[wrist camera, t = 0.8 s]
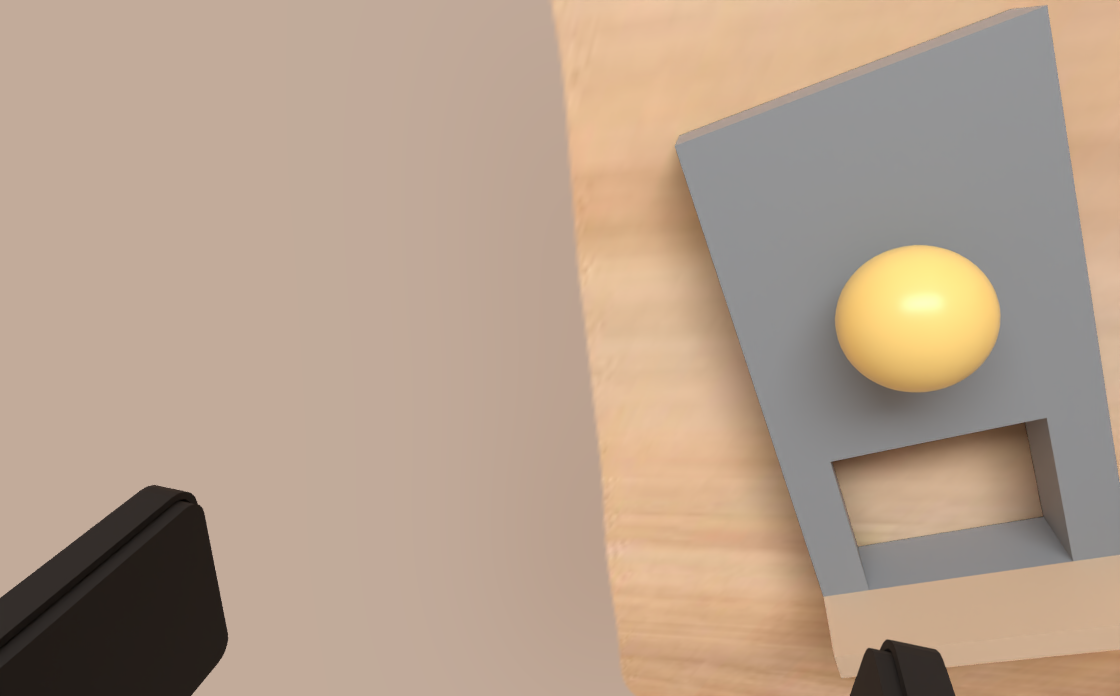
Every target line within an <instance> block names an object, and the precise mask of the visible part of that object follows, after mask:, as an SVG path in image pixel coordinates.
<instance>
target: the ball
mask: <svg viewBox="0 0 1120 696" xmlns="http://www.w3.org/2000/svg"><path fill="white" fill-rule="evenodd" d="M1000 315H1001V314H1000V305H999V302H998V298H997V295H996V292H995V290H994V288H993V286H992V284H991V282H990V281H989V280H988V278H987V277H986V275H985V274H984V273H983V272H982V271H981V270H980V269H979V268H978V267H977V266H976V265H975V264H973V263H972V262H971V261H970V260H968V259H967V258H965V257H963V256H961V255H959V254H958V253H955V252H953V251H950V250H948V249H944V248H940V247H935V246H927V245H911V246H903V247H899V248H895V249H891V250H889V251H886V252H883V253H881V254H879V255H877V256H875V257H873V258H872V259H870V260H869V261H867V262H866V263H864V264H863V265H862V266H861V267H860V268H859V269H858V270H857V271H856V272H855V273H854V274H853V275H852V276H851V277H850V279H849V280H848V281H847V282H846V284H845V286H844V288H843V289H842V291H841V294H840V296H839V299H838V303H837V307H836V313H835V328H836V333H837V338H838V341H839V344H840V347H841V349H842V350H843V352H844V354H845V356H846V357H847V359H848V360H849V361H850V363H851V364H852V365H853V366H854V367H855V368H856V369H857V370H858V371H859V372H860V373H861V374H862V375H864V376H865V377H867V378H868V379H870V380H871V381H873V382H875V383H877V384H879V385H881V386H884V387H886V388H889V389H893V390H897V391H903V392H930V391H936V390H940V389H943V388H946V387H949V386H952V385H954V384H956V383H958V382H960V381H962V380H964V379H965V378H967V377H968V376H969V375H971V374H972V373H973V372H974V371H976V370H977V369H978V368H979V367H980V366H981V365H982V364H983V363H984V361H985V360H986V358H987V357H988V356H989V354H990V353H991V351H992V349H993V347H994V345H995V343H996V340H997V337H998V334H999V329H1000Z"/></svg>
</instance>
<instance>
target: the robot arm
mask: <svg viewBox="0 0 1120 696" xmlns="http://www.w3.org/2000/svg"><path fill="white" fill-rule="evenodd" d="M227 642H228V632H227V627H226V622H225V618H224V612H223V607H222V602H221V597H220V591H219V587H218V581H217V576H216V571H215V566H214V561H213V556H212V551H211V546H210V540H209V535H208V530H207V525H206V520H205V515H204V511H203V509H202V507H201V506H200V505H198V504H197V501H196V498H195V497H194V495H192V494H191V493H189V492H184V491H180V490H176V489H171V488H166V487H161V486H156V485H152V486H148V487H146V488H144V489H142V490H141V491H139V492H138V493H137V494H135V495H134V496H133V497H132V498H130V499H129V500H128V501H126V502H125V503H124V504H122V505H121V506H120V507H118V508H117V509H116V510H115V511H113V512H112V513H111V514H109V515H108V516H107V517H105V518H104V519H103V520H101V521H100V522H99V523H98V524H96V525H95V526H94V527H92V528H91V529H90V530H88V531H87V532H86V533H85V534H83V535H82V536H81V537H79V538H78V539H77V540H75V541H74V542H73V543H71V544H70V545H69V546H68V547H66V548H65V549H64V550H62V551H61V552H60V553H58V554H57V555H56V556H55V557H53V558H52V559H51V560H49V561H48V562H47V563H45V564H44V565H43V566H41V567H40V568H39V569H37V570H36V571H35V572H34V573H32V574H31V575H30V576H28V577H27V578H26V579H25V580H23V581H22V582H21V583H19V584H18V585H17V586H15V587H14V588H13V589H11V590H10V591H9V592H7V593H6V594H5V595H4V596H2V597H1V598H0V696H191V695H192V694H193V693H194V691H195V690H196V689H197V688H198V687H199V685H200V684H201V683H202V682H203V681H204V679H205V678H206V677H207V676H208V675H209V673H210V672H211V671H212V670H213V668H214V667H215V666H216V665H217V663H218V662H219V661H220V659H221V658H222V656H223V654H224V652H225V649H226V646H227ZM850 696H955V693H954V690H953V687H952V684H951V681H950V678H949V675H948V673H947V670H946V667H945V664H944V661H943V658H942V656H941V654H940V653H939V652H938V651H937V650H936V649H932V648H927V647H923V646H918V645H913V644H908V643H904V642H899V641H894V640H889V639H886V640H885V641H884V642H883V644H882V646H881V648H880V650H878V649H873V648H868V649H867V650H866V651H865V653H864V656H863V659H862V662H861V665H860V668H859V670H858V673H857V676H856V679H855V682H854V685H853V688H852V691H851V694H850Z"/></svg>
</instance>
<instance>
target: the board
mask: <svg viewBox="0 0 1120 696" xmlns="http://www.w3.org/2000/svg"><path fill="white" fill-rule="evenodd" d="M675 148H676V151H677V154H678V157H679V160H680V163H681V166H682V169H683V172H684V176H685V179H686V182H687V185H688V188H689V191H690V194H691V197H692V200H693V203H694V206H695V209H696V212H697V215H698V218H699V221H700V224H701V227H702V230H703V233H704V236H705V239H706V242H707V245H708V248H709V251H710V254H711V257H712V260H713V263H714V266H715V269H716V272H717V276H718V279H719V282H720V285H721V288H722V291H723V294H724V297H725V300H726V303H727V306H728V309H729V312H730V315H731V318H732V321H733V324H734V327H735V330H736V333H737V336H738V339H739V342H740V345H741V348H742V351H743V354H744V357H745V360H746V363H747V366H748V369H749V372H750V376H751V379H752V382H753V385H754V388H755V391H756V394H757V397H758V400H759V403H760V406H761V409H762V412H763V415H764V418H765V421H766V424H767V427H768V430H769V433H770V436H771V439H772V442H773V445H774V448H775V451H776V454H777V457H778V460H779V463H780V466H781V469H782V472H783V476H784V479H785V482H786V485H787V488H788V491H789V494H790V497H791V500H792V503H793V506H794V509H795V512H796V515H797V518H798V521H799V524H800V527H801V530H802V533H803V536H804V539H805V542H806V545H807V548H808V551H809V554H810V557H811V560H812V563H813V566H814V569H815V572H816V576H817V579H818V582H819V585H820V588H821V591H822V594H823V597H824V602H825V608H826V614H827V619H828V625H829V631H830V636H831V642H832V648H833V653H834V658H835V661H836V664H837V667H838V670H839V673H840V676H841V678H849V677H856V676H857V673H858V670H859V668H860V665H861V662H862V659H863V656H864V653H865V651H866V650H867V649H868V648H873V649H878V650H880V648H881V646H882V644H883V642H884V641H885V640H886V639H889V640H894V641H899V642H904V643H908V644H913V645H918V646H923V647H927V648H932V649H936V650H937V651H938V652H939V653H940V654H941V656H942V658H943V661H944V664H945V667H956V666H966V665H975V664H985V663H995V662H1005V661H1014V660H1024V659H1034V658H1043V657H1053V656H1063V655H1073V654H1082V653H1092V652H1102V651H1112V650H1120V483H1119V476H1118V469H1117V463H1116V456H1115V450H1114V443H1113V436H1112V430H1111V423H1110V417H1109V410H1108V403H1107V397H1106V390H1105V384H1104V377H1103V370H1102V364H1101V357H1100V351H1099V344H1098V337H1097V331H1096V324H1095V318H1094V311H1093V304H1092V298H1091V291H1090V285H1089V278H1088V271H1087V265H1086V258H1085V252H1084V245H1083V238H1082V232H1081V225H1080V218H1079V212H1078V205H1077V199H1076V192H1075V185H1074V179H1073V172H1072V166H1071V159H1070V152H1069V146H1068V139H1067V133H1066V126H1065V119H1064V113H1063V106H1062V100H1061V93H1060V86H1059V80H1058V73H1057V67H1056V60H1055V53H1054V47H1053V40H1052V34H1051V27H1050V20H1049V14H1048V7H1047V5H1046V6H1036V7H1026V8H1016V9H1010V10H1007V11H1005V12H1002V13H1000V14H997V15H994V16H992V17H989V18H987V19H984V20H981V21H979V22H976V23H973V24H971V25H968V26H966V27H963V28H960V29H958V30H955V31H952V32H950V33H947V34H945V35H942V36H939V37H937V38H934V39H931V40H929V41H926V42H924V43H921V44H918V45H916V46H913V47H910V48H908V49H905V50H903V51H900V52H897V53H895V54H892V55H890V56H887V57H884V58H882V59H879V60H876V61H874V62H871V63H869V64H866V65H863V66H861V67H858V68H855V69H853V70H850V71H848V72H845V73H842V74H840V75H837V76H834V77H832V78H829V79H827V80H824V81H821V82H819V83H816V84H813V85H811V86H808V87H806V88H803V89H800V90H798V91H795V92H793V93H790V94H787V95H785V96H782V97H779V98H777V99H774V100H772V101H769V102H766V103H764V104H761V105H758V106H756V107H753V108H751V109H748V110H745V111H743V112H740V113H737V114H735V115H732V116H730V117H727V118H724V119H722V120H719V121H716V122H714V123H711V124H709V125H706V126H703V127H701V128H698V129H695V130H693V131H690V132H688V133H685V134H682V135H680V136H679V138H678V140H677V142H676V144H675ZM911 245H927V246H935V247H940V248H944V249H948V250H950V251H953V252H955V253H958V254H959V255H961V256H963V257H965V258H967V259H968V260H970V261H971V262H972V263H973V264H975V265H976V266H977V267H978V268H979V269H980V270H981V271H982V272H983V273H984V274H985V275H986V277H987V278H988V280H989V281H990V282H991V284H992V286H993V288H994V290H995V292H996V295H997V298H998V302H999V305H1000V314H1001V315H1000V329H999V334H998V337H997V340H996V343H995V345H994V347H993V349H992V351H991V353H990V354H989V356H988V357H987V358H986V360H985V361H984V363H983V364H982V365H981V366H980V367H979V368H978V369H977V370H976V371H974V372H973V373H972V374H971V375H969V376H968V377H967V378H965V379H964V380H962V381H960V382H958V383H956V384H954V385H952V386H949V387H946V388H943V389H940V390H936V391H930V392H903V391H897V390H893V389H889V388H886V387H884V386H881V385H879V384H877V383H875V382H873V381H871V380H870V379H868V378H867V377H865V376H864V375H862V374H861V373H860V372H859V371H858V370H857V369H856V368H855V367H854V366H853V365H852V364H851V363H850V361H849V360H848V359H847V357H846V356H845V354H844V352H843V350H842V349H841V347H840V344H839V341H838V338H837V333H836V328H835V313H836V307H837V303H838V299H839V296H840V294H841V291H842V289H843V288H844V286H845V284H846V282H847V281H848V280H849V279H850V277H851V276H852V275H853V274H854V273H855V272H856V271H857V270H858V269H859V268H860V267H861V266H862V265H863V264H864V263H866V262H867V261H869V260H870V259H872V258H873V257H875V256H877V255H879V254H881V253H883V252H886V251H889V250H891V249H895V248H899V247H903V246H911ZM1023 422H1025V425H1026V430H1027V435H1028V441H1029V446H1030V451H1031V456H1032V461H1033V466H1034V471H1035V476H1036V481H1037V487H1038V492H1039V497H1040V502H1041V507H1042V512H1043V517H1038V518H1032V519H1026V520H1020V521H1014V522H1008V523H1001V524H995V525H989V526H983V527H977V528H971V529H964V530H958V531H952V532H946V533H940V534H934V535H927V536H921V537H915V538H909V539H903V540H897V541H890V542H884V543H878V544H872V545H866V546H860V547H858V546H857V542H856V539H855V536H854V533H853V529H852V526H851V523H850V519H849V516H848V513H847V509H846V506H845V503H844V499H843V496H842V493H841V489H840V486H839V483H838V480H837V476H836V473H835V470H834V466H833V463H832V461H837V460H842V459H847V458H851V457H856V456H861V455H866V454H871V453H876V452H881V451H886V450H891V449H896V448H901V447H906V446H910V445H915V444H920V443H925V442H930V441H935V440H940V439H945V438H950V437H955V436H960V435H964V434H969V433H974V432H979V431H984V430H989V429H994V428H999V427H1004V426H1009V425H1014V424H1018V423H1023Z"/></svg>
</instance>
